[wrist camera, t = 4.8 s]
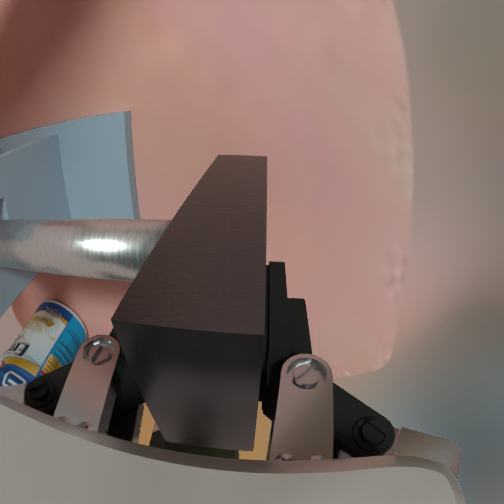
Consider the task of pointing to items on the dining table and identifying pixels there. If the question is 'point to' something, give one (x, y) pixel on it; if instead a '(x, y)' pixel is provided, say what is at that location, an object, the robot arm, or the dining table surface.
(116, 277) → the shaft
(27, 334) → the beverage bottle
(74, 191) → the bearing block
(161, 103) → the dining table surface
